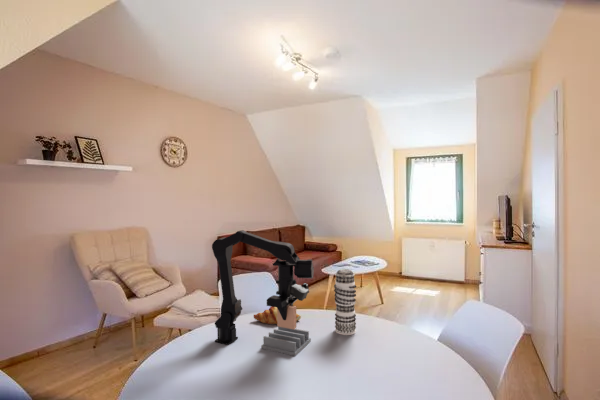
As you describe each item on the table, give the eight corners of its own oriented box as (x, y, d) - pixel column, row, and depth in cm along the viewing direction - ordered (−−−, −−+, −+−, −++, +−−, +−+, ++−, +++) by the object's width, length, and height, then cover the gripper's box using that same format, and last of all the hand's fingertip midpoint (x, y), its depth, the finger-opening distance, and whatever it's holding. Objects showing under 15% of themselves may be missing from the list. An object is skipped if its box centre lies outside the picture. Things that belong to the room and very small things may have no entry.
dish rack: (261, 348, 120) (261, 337, 120) (279, 334, 131) (278, 324, 131) (295, 355, 113) (295, 344, 113) (310, 341, 125) (310, 330, 125)
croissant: (300, 326, 149) (300, 308, 153) (301, 323, 140) (301, 303, 144) (253, 326, 148) (254, 308, 152) (252, 323, 139) (253, 304, 143)
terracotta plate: (277, 326, 123) (277, 305, 123) (280, 324, 125) (279, 303, 125) (293, 329, 120) (293, 307, 120) (296, 327, 122) (296, 306, 122)
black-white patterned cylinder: (353, 325, 140) (352, 267, 140) (359, 334, 131) (359, 272, 131) (332, 327, 139) (331, 268, 139) (337, 336, 129) (336, 273, 129)
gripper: (293, 285, 110) (293, 331, 110) (315, 274, 127) (315, 314, 127) (265, 282, 115) (265, 326, 115) (290, 271, 132) (290, 310, 132)
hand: (286, 318), depth 122 cm, fingers closed on terracotta plate, 2 cm apart
